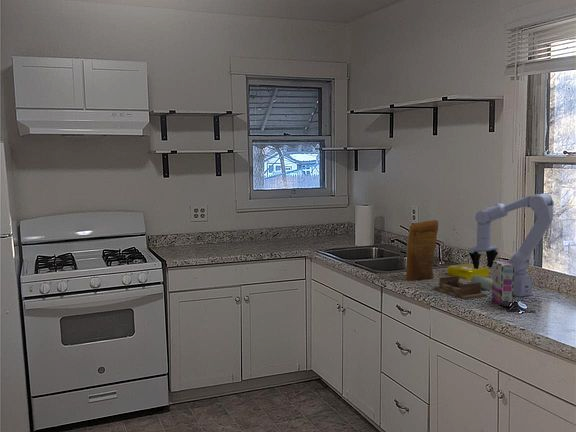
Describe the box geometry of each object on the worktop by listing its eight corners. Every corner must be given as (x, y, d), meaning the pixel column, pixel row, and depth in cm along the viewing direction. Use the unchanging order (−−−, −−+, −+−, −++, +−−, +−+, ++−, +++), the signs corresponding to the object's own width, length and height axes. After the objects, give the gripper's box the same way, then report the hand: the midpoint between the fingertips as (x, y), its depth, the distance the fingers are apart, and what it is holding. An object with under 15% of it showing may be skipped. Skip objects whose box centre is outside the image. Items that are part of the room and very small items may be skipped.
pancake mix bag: (441, 278, 275) (442, 220, 272) (409, 282, 267) (410, 223, 264) (432, 275, 281) (433, 219, 278) (400, 279, 273) (401, 221, 270)
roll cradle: (486, 296, 240) (487, 283, 239) (463, 299, 235) (464, 286, 235) (455, 286, 258) (456, 274, 258) (433, 289, 254) (433, 276, 253)
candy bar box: (513, 307, 223) (514, 265, 222) (500, 307, 223) (501, 265, 222) (503, 299, 234) (504, 260, 233) (491, 299, 235) (492, 260, 233)
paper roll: (495, 290, 251) (496, 279, 251) (486, 290, 250) (486, 279, 249) (479, 285, 261) (479, 274, 260) (470, 285, 259) (471, 274, 258)
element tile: (490, 276, 279) (491, 266, 279) (469, 280, 272) (469, 270, 271) (466, 271, 292) (466, 262, 292) (445, 275, 284) (445, 265, 284)
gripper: (490, 235, 259) (489, 264, 261) (464, 237, 254) (463, 267, 255) (501, 237, 253) (500, 267, 254) (475, 239, 247) (474, 270, 249)
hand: (482, 267), depth 254 cm, fingers open, 7 cm apart
